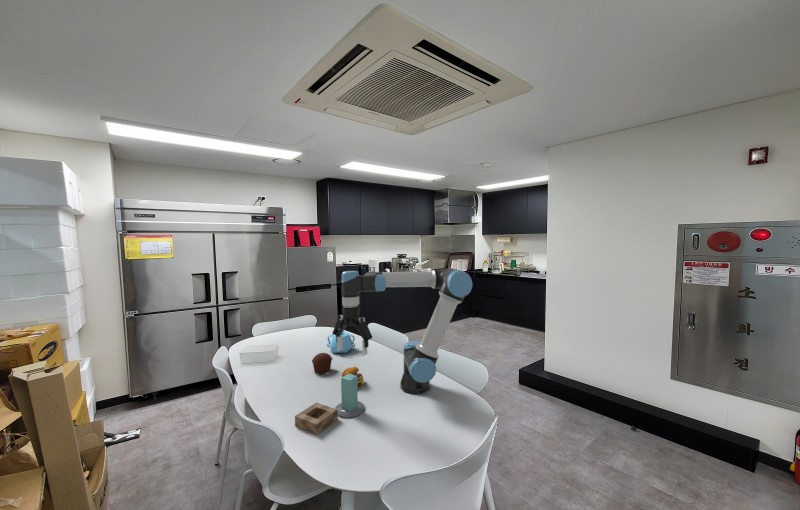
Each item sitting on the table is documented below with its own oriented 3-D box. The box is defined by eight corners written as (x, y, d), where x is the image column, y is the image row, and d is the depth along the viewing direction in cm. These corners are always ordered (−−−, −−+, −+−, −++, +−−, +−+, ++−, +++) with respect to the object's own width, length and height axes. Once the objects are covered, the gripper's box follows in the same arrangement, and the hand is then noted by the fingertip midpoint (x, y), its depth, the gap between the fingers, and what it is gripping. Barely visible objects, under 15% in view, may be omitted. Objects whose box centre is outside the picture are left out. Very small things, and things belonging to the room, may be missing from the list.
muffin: (321, 377, 169) (321, 359, 168) (307, 372, 174) (307, 355, 174) (336, 369, 179) (336, 352, 178) (323, 365, 185) (322, 349, 184)
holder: (337, 418, 128) (337, 409, 128) (316, 434, 118) (316, 424, 118) (316, 411, 134) (316, 402, 134) (295, 425, 124) (294, 416, 124)
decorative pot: (357, 351, 208) (357, 332, 207) (335, 357, 198) (335, 336, 198) (346, 345, 221) (346, 326, 220) (325, 350, 211) (325, 330, 211)
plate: (370, 406, 138) (370, 404, 138) (352, 421, 126) (352, 419, 126) (347, 399, 144) (347, 397, 144) (328, 413, 133) (328, 411, 133)
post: (357, 406, 136) (357, 375, 136) (350, 412, 132) (350, 380, 131) (348, 403, 139) (348, 373, 138) (341, 409, 134) (341, 377, 134)
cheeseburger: (361, 389, 154) (356, 370, 154) (341, 392, 156) (337, 373, 156) (367, 380, 164) (362, 362, 164) (349, 383, 166) (344, 365, 166)
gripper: (379, 306, 134) (380, 353, 135) (334, 302, 146) (335, 345, 147) (369, 309, 128) (371, 359, 128) (323, 305, 139) (325, 351, 140)
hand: (352, 352), depth 138 cm, fingers open, 13 cm apart
